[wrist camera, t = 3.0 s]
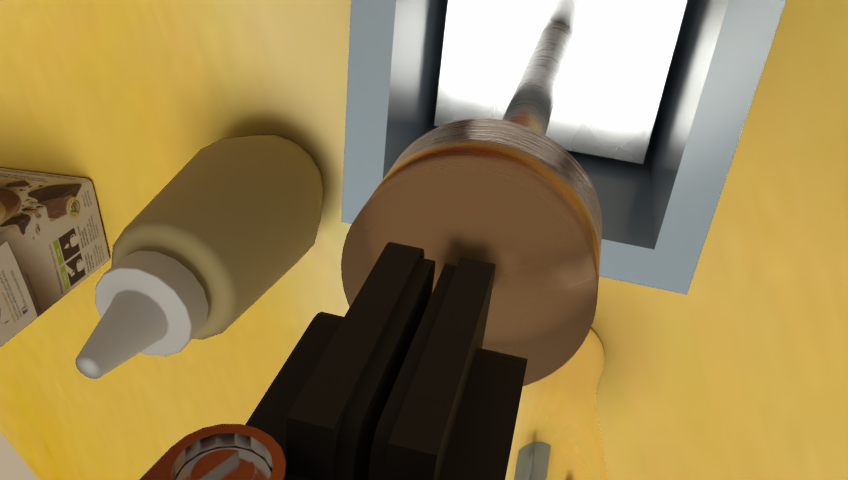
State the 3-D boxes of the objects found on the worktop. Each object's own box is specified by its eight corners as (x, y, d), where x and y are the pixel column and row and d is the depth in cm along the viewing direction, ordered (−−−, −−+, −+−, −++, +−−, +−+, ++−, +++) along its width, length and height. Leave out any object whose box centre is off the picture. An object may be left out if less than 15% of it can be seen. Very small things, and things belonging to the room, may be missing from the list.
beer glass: (481, 316, 45) (422, 509, 32) (594, 295, 42) (577, 495, 30) (517, 404, 48) (475, 614, 35) (625, 389, 45) (622, 610, 32)
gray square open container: (744, -133, 31) (821, -105, 18) (654, 184, 38) (664, 360, 26) (464, -166, 33) (358, -161, 20) (431, 142, 40) (338, 286, 28)
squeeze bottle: (339, 251, 45) (190, 466, 30) (218, 224, 47) (16, 417, 31) (345, 128, 41) (176, 305, 26) (212, 103, 42) (-24, 257, 27)
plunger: (703, -69, 25) (815, 95, 10) (642, 156, 29) (652, 519, 14) (463, -101, 26) (225, -1, 11) (438, 118, 31) (242, 412, 15)
